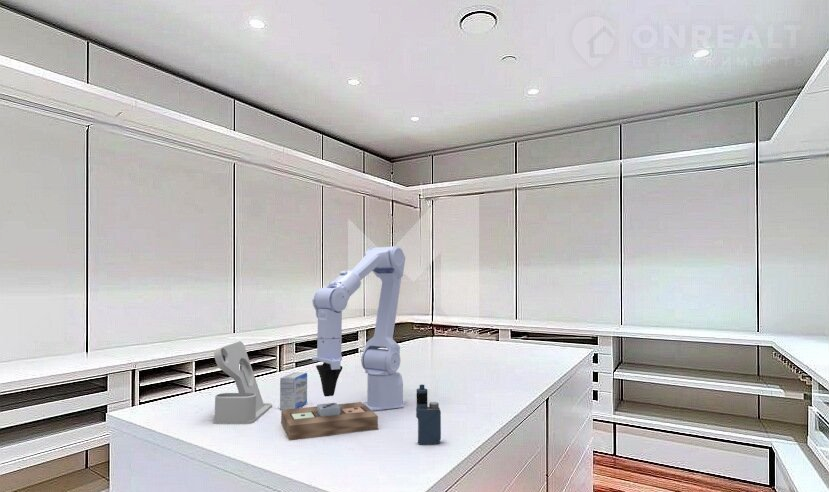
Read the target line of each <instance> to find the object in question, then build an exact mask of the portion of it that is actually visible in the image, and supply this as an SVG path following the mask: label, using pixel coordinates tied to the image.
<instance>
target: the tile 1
mask: <svg viewBox="0 0 829 492" xmlns="http://www.w3.org/2000/svg"><path fill="white" fill-rule="evenodd" d="M291 417H292V419H293V420H295V419H305V418H314V415H313V414H312V413H311V412H307V413H297V414H291Z"/></svg>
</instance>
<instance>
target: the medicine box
mask: <svg viewBox="0 0 829 492" xmlns="http://www.w3.org/2000/svg"><path fill="white" fill-rule="evenodd" d="M279 386H280V387H279V409H280V410H285V409H295V408H303V406H305V405H307V403H308V372H302V371H301V372H300V371H299V372H298V371H296V372H292V373H289V374H286V375H284V376H282V377H280V382H279Z"/></svg>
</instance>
